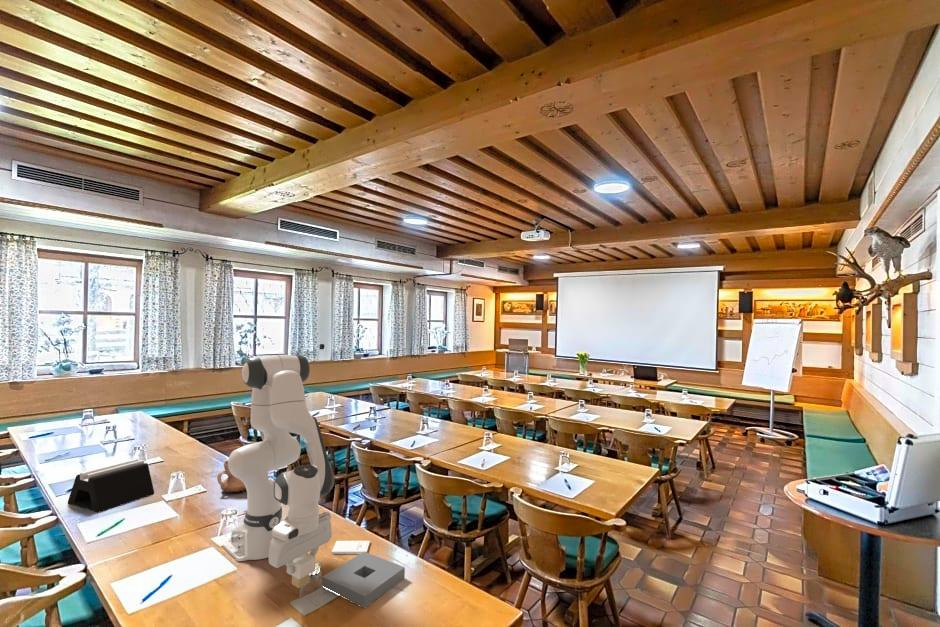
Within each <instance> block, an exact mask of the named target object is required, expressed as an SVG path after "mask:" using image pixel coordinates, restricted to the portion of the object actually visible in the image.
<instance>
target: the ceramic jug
mask: <svg viewBox="0 0 940 627" xmlns="http://www.w3.org/2000/svg"><path fill="white" fill-rule="evenodd" d="M223 468H224V469H223V470H220V471H219V472H218V474H217V477H216V478H217V482H218V484H219V486H220V489H221V491H223V492H225V493H229V492H231V494H233V493H232V492H236V493H240V491H242V492H245V491H247V490H246V487H245V485H244V483H243V482H242V481H241V480H240V479H238V478H236V477H235V476H233V475H232V474H231V473H230V471H229V468H228V460H225V461H223ZM224 474H225V475H226V476H227V477H226V478H225V479H224V480H223V481H222V475H224ZM244 490H245V491H244Z"/></svg>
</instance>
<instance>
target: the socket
mask: <svg viewBox="0 0 940 627" xmlns="http://www.w3.org/2000/svg"><path fill="white" fill-rule="evenodd" d="M405 570H406V568H405V566H403V565H399V564H398V563H395V562H392V561H390V560H387V559H385V558H383V557H380V556H377V555H374V554H371V553H369V552H368V551H367V552H363V553H361V554H357V555H356V556H355V557H353V558H351V559H349V560H348V561H346V562H344V563H343V564H341V565H340V566H337V567H335V569H333V570H331V571H330V572H327V573H326V574H325V575H323V576H322V579H321V580H322V583H321V585H323V586H324V587H326V588H328V589H330V590H332V591H334V592H336V593H338V594H340V595H341V596H343V597H345V598H347V599H349V600H350V601H352V602H354V603H356V604H357V605H356V604H355V605H356V606H358V605H360V606H362V607H364V608H365V607H366V608H368V607H369V606H370V605H371V604H372V602H373V601H374V602H375V601H376V599H377V600H378V599H379V598H381V597H382V596H383V595H385V594H386V593H387V592H388V591H390V590H391V589H392V588H394V587H395V586H397V585H398V584H399V583H400V582H401V581H403V580H404V579H405V575H406V574H405V572H406V571H405ZM364 576H365V577H364ZM350 601H349V602H350ZM352 602H351V603H352ZM374 602H373V603H374ZM354 603H353V604H354ZM369 604H370V605H369ZM368 605H369V606H368ZM360 606H359V607H360ZM362 607H361V608H362ZM364 608H363V609H364ZM366 608H365V609H366Z"/></svg>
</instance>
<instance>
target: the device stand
mask: <svg viewBox="0 0 940 627" xmlns="http://www.w3.org/2000/svg"><path fill="white" fill-rule="evenodd" d="M151 494H152V495H154V494H155V489H154V486H153V479H152V475H151V472H150V468H149V464H148V463H147V462H145V460H144V459H141V460H139V459H138V458H134V459H131V460H126V461H122V462H119V463H115V464H110V465H106V466H103V467H98V468H95V469H90V470H87V471H84V472H83V471H82V472H80V474H76V475H75V479H74V481H73V484H72V488H71V491H70V494H69V497H68V499H67V504H69V505H72V506H75V507H78V508H82V509H85V510H89V511H93V512H95V513H101V512H104V511H107V510H109V509H113V508H115V507H118V506H122V505H125V504H128V503H132V502H134V501H136V500H139V499H142V498H145V497H149V496H152V495H151ZM148 495H149V496H148Z"/></svg>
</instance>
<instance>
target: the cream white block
mask: <svg viewBox="0 0 940 627" xmlns="http://www.w3.org/2000/svg"><path fill="white" fill-rule="evenodd" d="M316 559H317V558H316V556H315V557H314V556H312V555H310V553H309V552H307V553H306V554H304V555H302V556H300V557H298V558H296V559H294V560H293V563H292V564H291V565H293V566H295V573H293V574H291V575H290V576H291V585H293V586H294V587H296V588H298V589H300V588H303V587H304V586H306V585H307V584H309V583H310V574H311V573H313V572H315V571H316Z"/></svg>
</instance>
